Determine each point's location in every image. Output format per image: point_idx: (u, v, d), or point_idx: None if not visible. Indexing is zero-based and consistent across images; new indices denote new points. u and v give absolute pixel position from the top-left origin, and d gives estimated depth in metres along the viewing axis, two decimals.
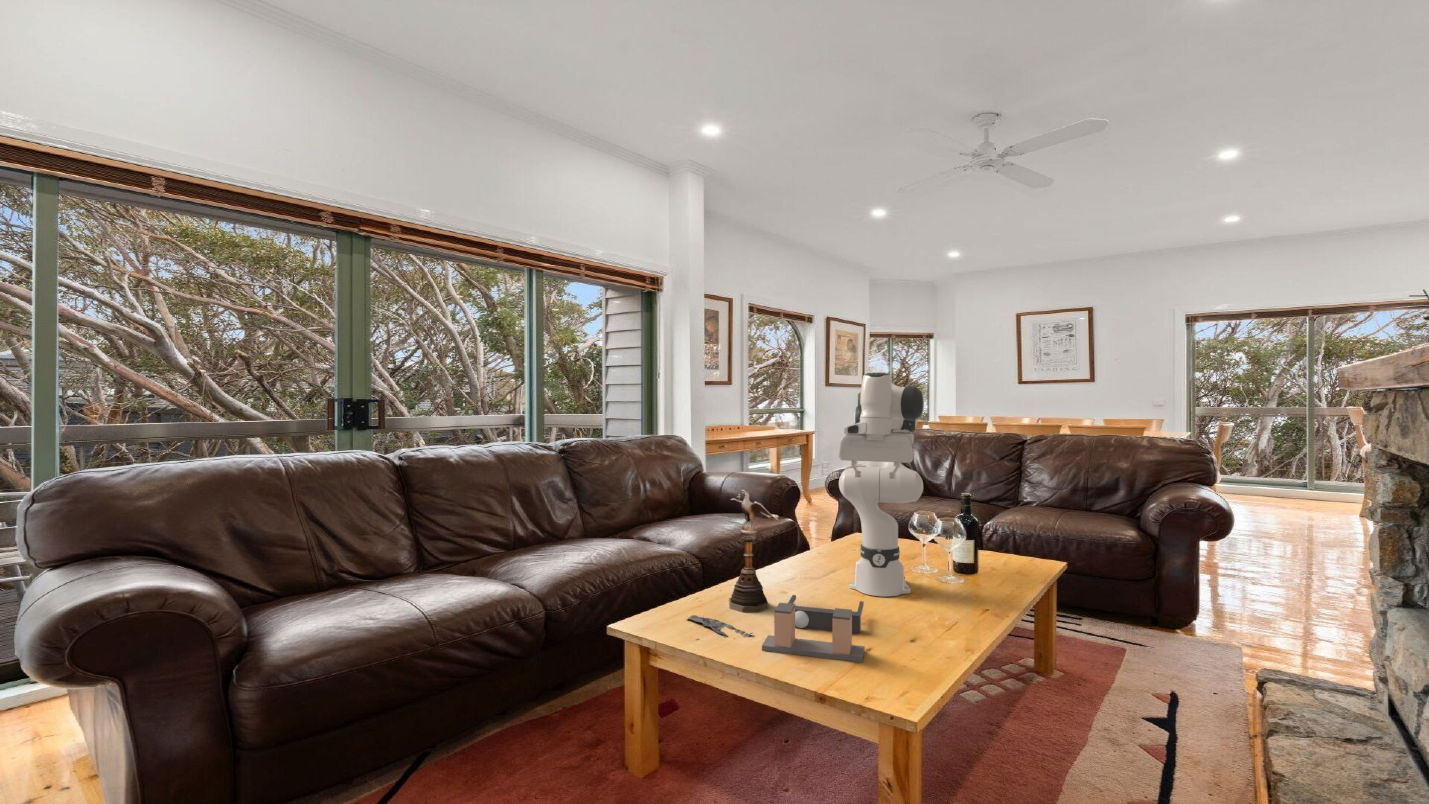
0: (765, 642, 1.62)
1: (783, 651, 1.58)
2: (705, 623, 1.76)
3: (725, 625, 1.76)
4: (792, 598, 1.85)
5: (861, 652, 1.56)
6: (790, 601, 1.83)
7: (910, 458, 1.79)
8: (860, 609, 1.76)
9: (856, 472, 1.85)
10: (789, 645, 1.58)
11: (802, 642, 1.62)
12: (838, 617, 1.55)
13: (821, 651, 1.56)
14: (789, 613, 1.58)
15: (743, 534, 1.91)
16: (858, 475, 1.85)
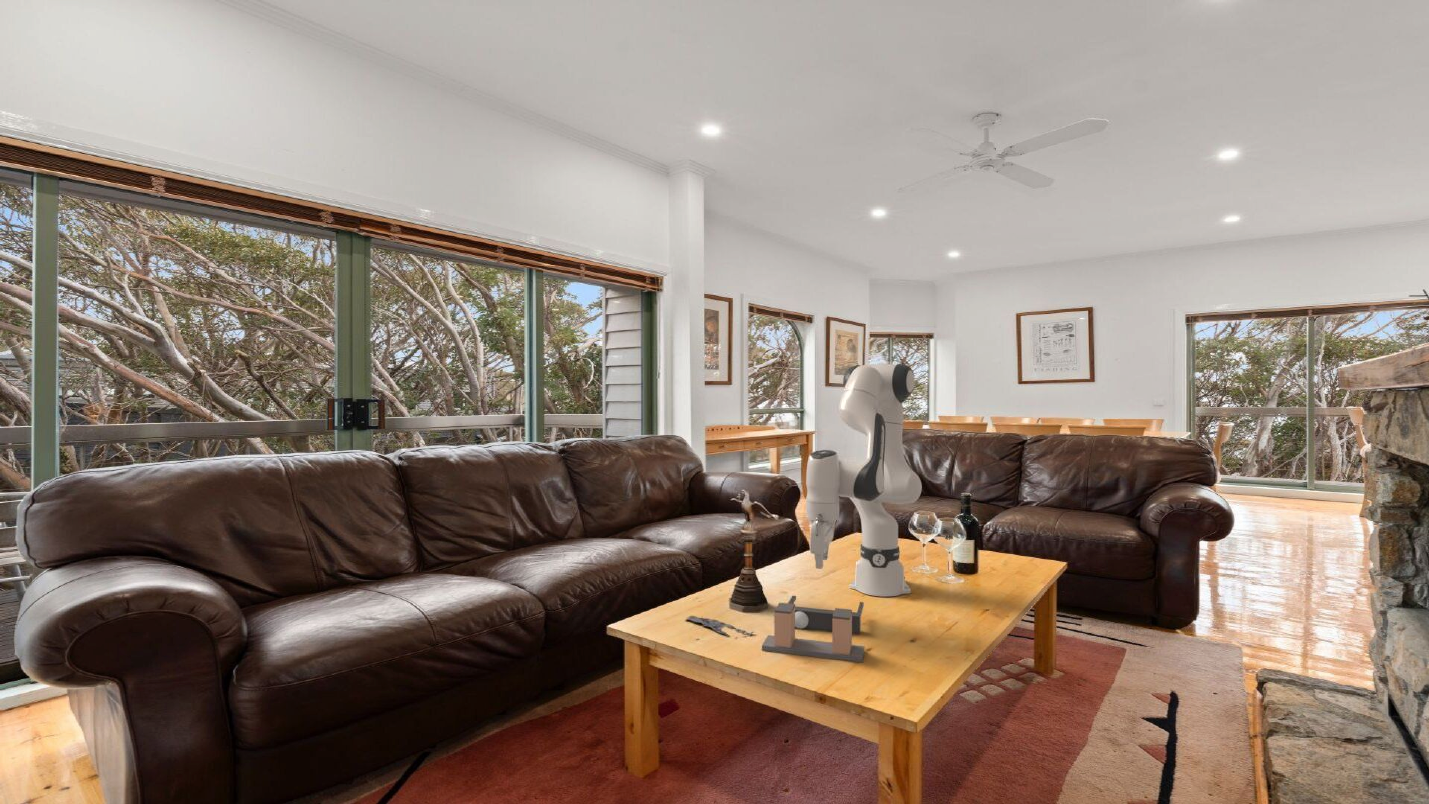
0: (765, 642, 1.62)
1: (783, 651, 1.58)
2: (705, 623, 1.76)
3: (725, 625, 1.77)
4: (792, 599, 1.85)
5: (861, 652, 1.56)
6: (790, 602, 1.82)
7: (810, 549, 1.66)
8: (860, 610, 1.76)
9: None
10: (789, 645, 1.58)
11: (802, 642, 1.62)
12: (838, 617, 1.55)
13: (821, 651, 1.56)
14: (789, 613, 1.58)
15: (743, 534, 1.91)
16: None
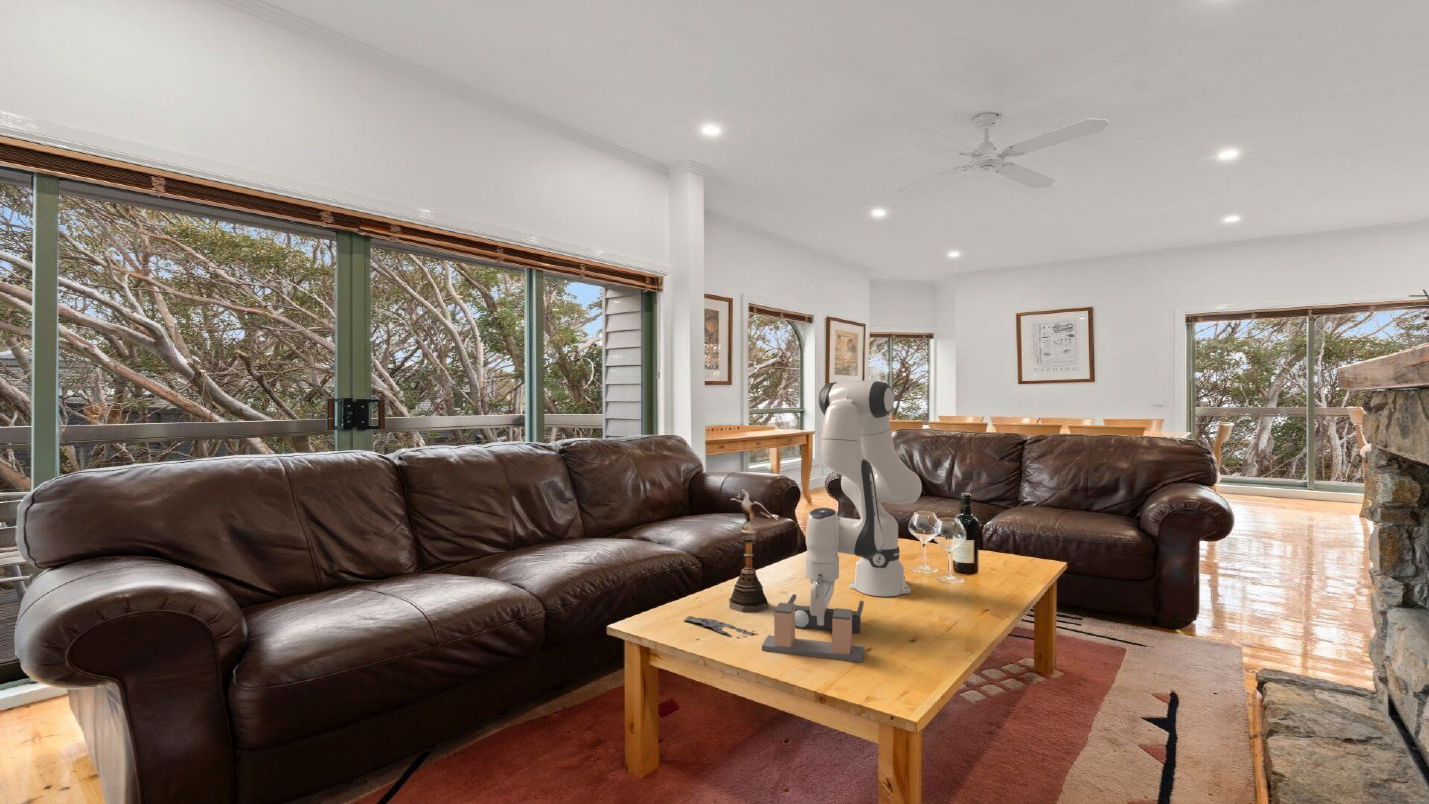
0: (765, 642, 1.62)
1: (783, 651, 1.58)
2: (705, 623, 1.75)
3: (724, 624, 1.77)
4: (792, 597, 1.86)
5: (861, 652, 1.56)
6: (790, 600, 1.83)
7: (810, 611, 1.66)
8: (860, 608, 1.76)
9: None
10: (789, 645, 1.58)
11: (802, 642, 1.62)
12: (838, 617, 1.55)
13: (821, 651, 1.56)
14: (789, 613, 1.58)
15: (743, 534, 1.91)
16: None
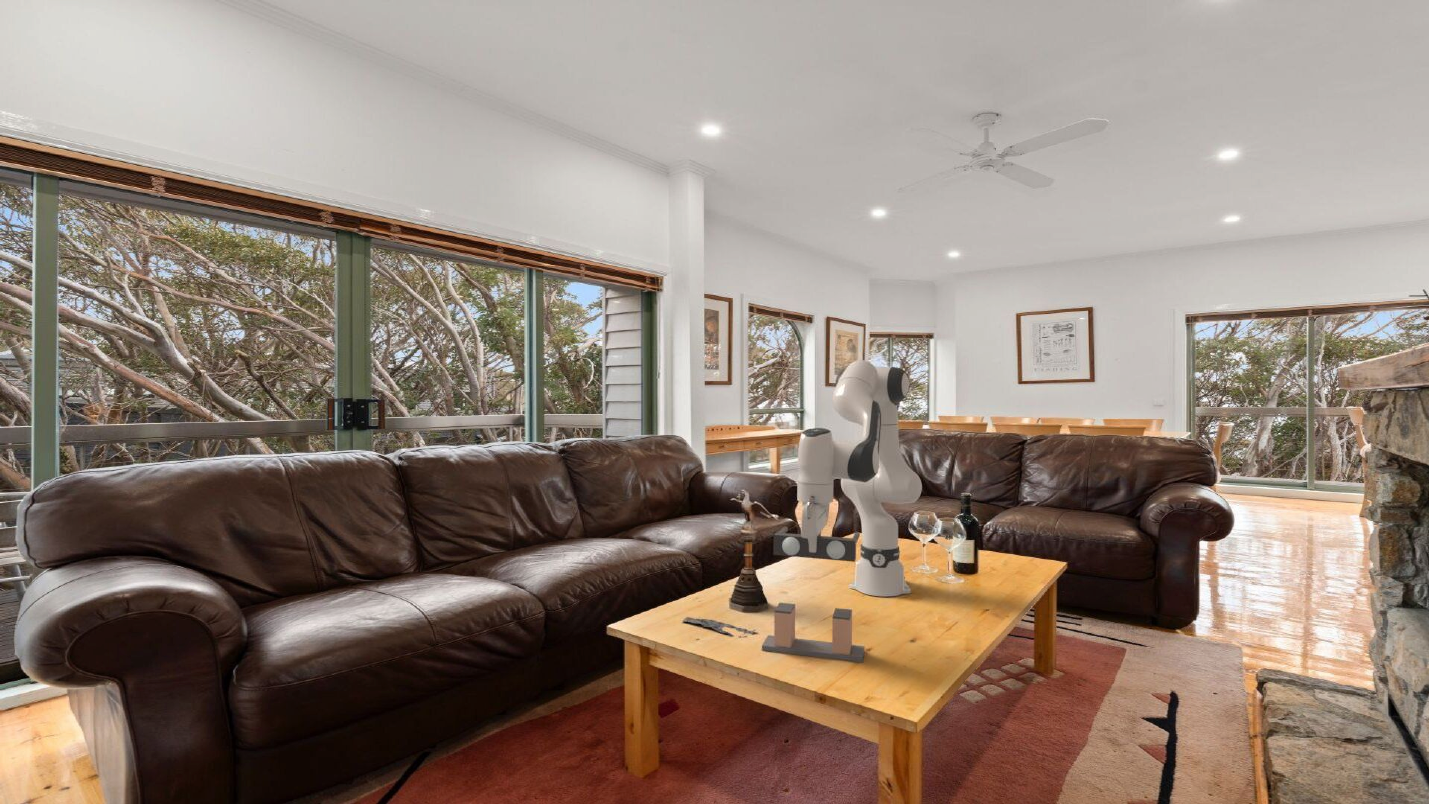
0: (765, 642, 1.62)
1: (783, 651, 1.58)
2: (704, 624, 1.75)
3: (723, 624, 1.77)
4: (783, 529, 1.73)
5: (861, 652, 1.56)
6: (781, 530, 1.70)
7: (801, 533, 1.53)
8: (856, 537, 1.64)
9: None
10: (789, 645, 1.58)
11: (802, 642, 1.62)
12: (838, 617, 1.55)
13: (821, 651, 1.56)
14: (789, 613, 1.58)
15: (743, 534, 1.91)
16: None
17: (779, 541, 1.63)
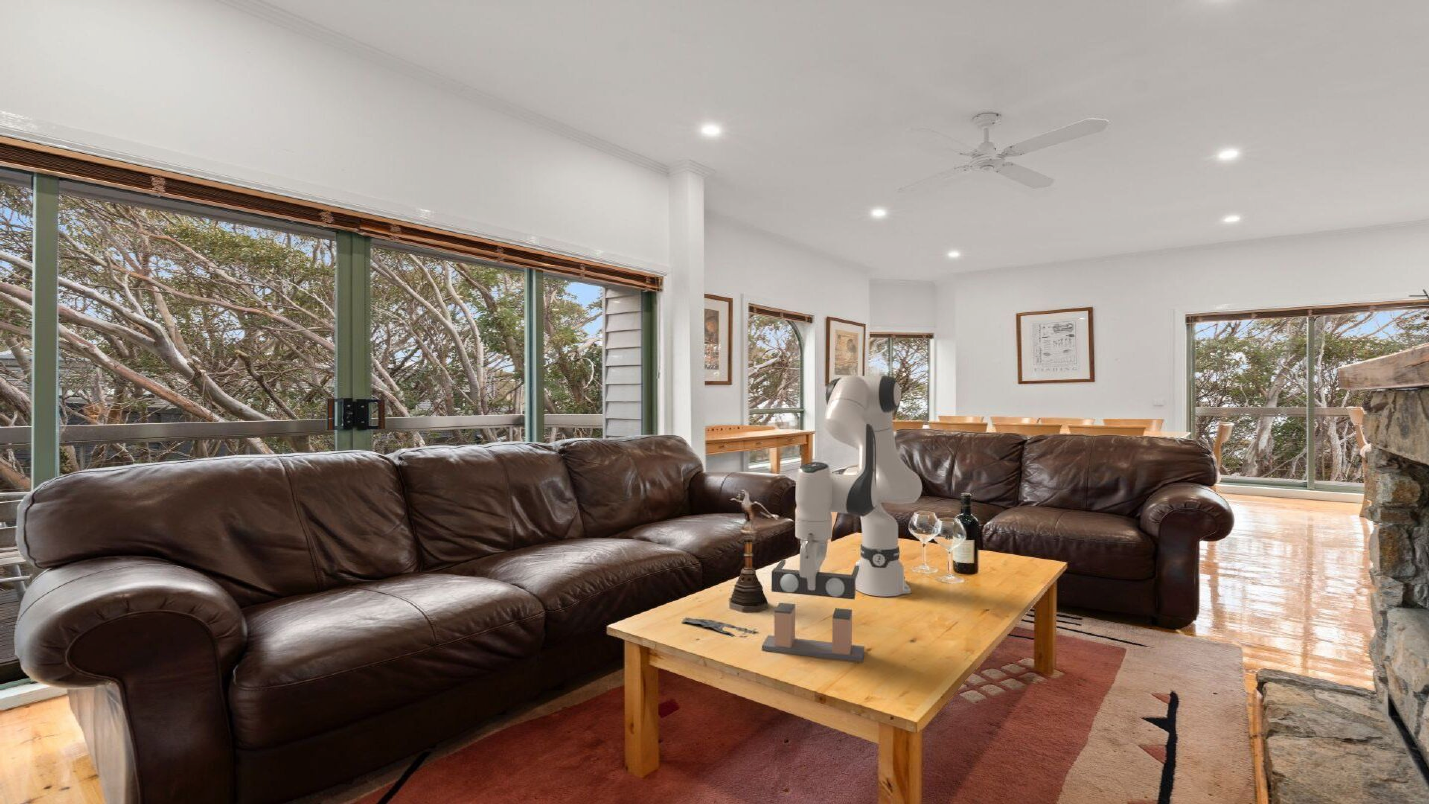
0: (765, 642, 1.62)
1: (783, 651, 1.58)
2: (704, 624, 1.75)
3: (723, 624, 1.77)
4: (781, 562, 1.70)
5: (861, 652, 1.56)
6: (779, 565, 1.67)
7: (799, 572, 1.50)
8: (855, 572, 1.61)
9: None
10: (789, 645, 1.58)
11: (802, 642, 1.62)
12: (838, 617, 1.55)
13: (821, 651, 1.56)
14: (789, 613, 1.58)
15: (743, 534, 1.91)
16: None
17: (778, 578, 1.60)
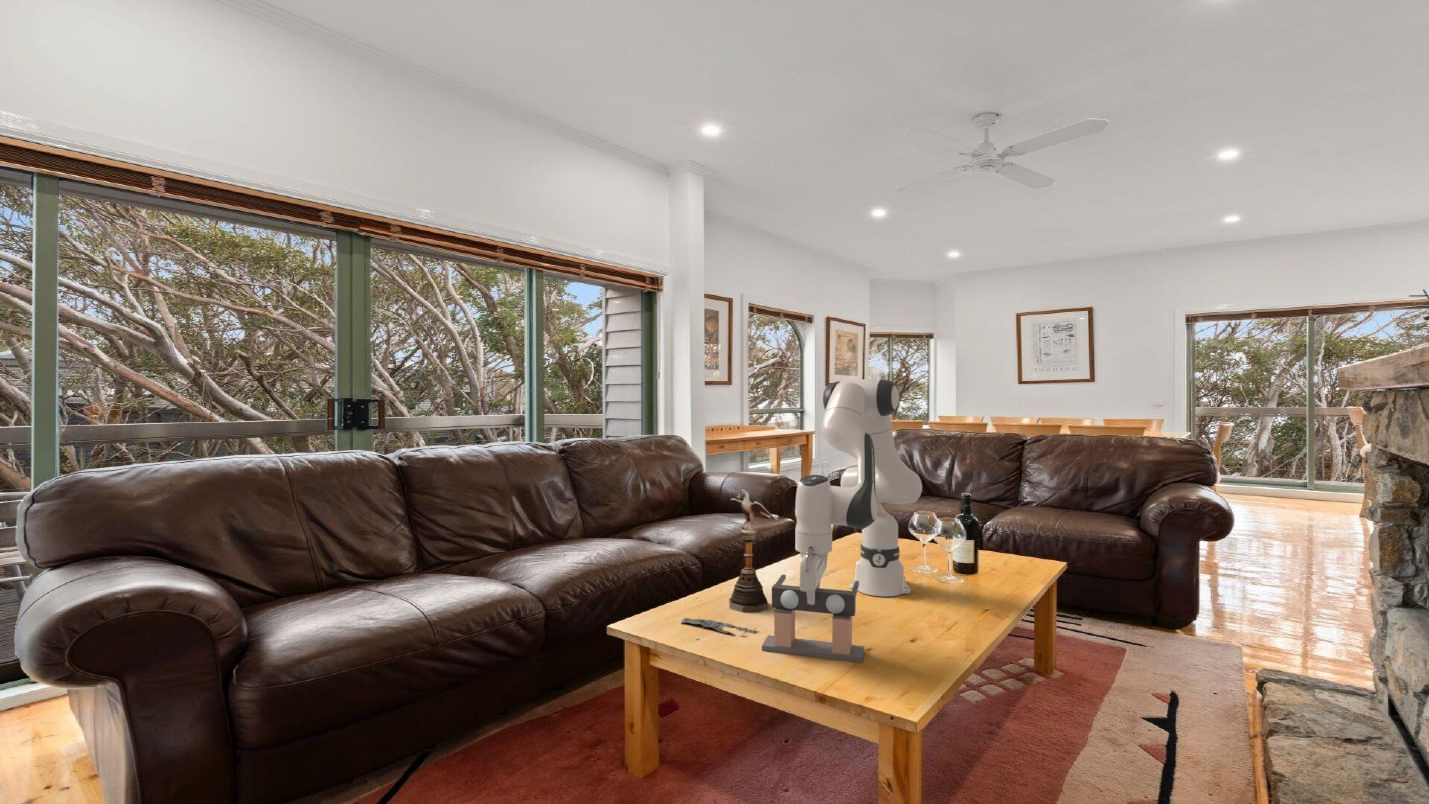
0: (765, 642, 1.62)
1: (783, 651, 1.58)
2: (704, 624, 1.75)
3: (723, 624, 1.77)
4: (781, 578, 1.70)
5: (861, 652, 1.56)
6: (779, 580, 1.67)
7: None
8: (855, 588, 1.61)
9: None
10: (789, 645, 1.58)
11: (802, 642, 1.62)
12: (838, 617, 1.55)
13: (821, 651, 1.56)
14: (789, 613, 1.58)
15: (743, 534, 1.91)
16: None
17: (778, 594, 1.60)
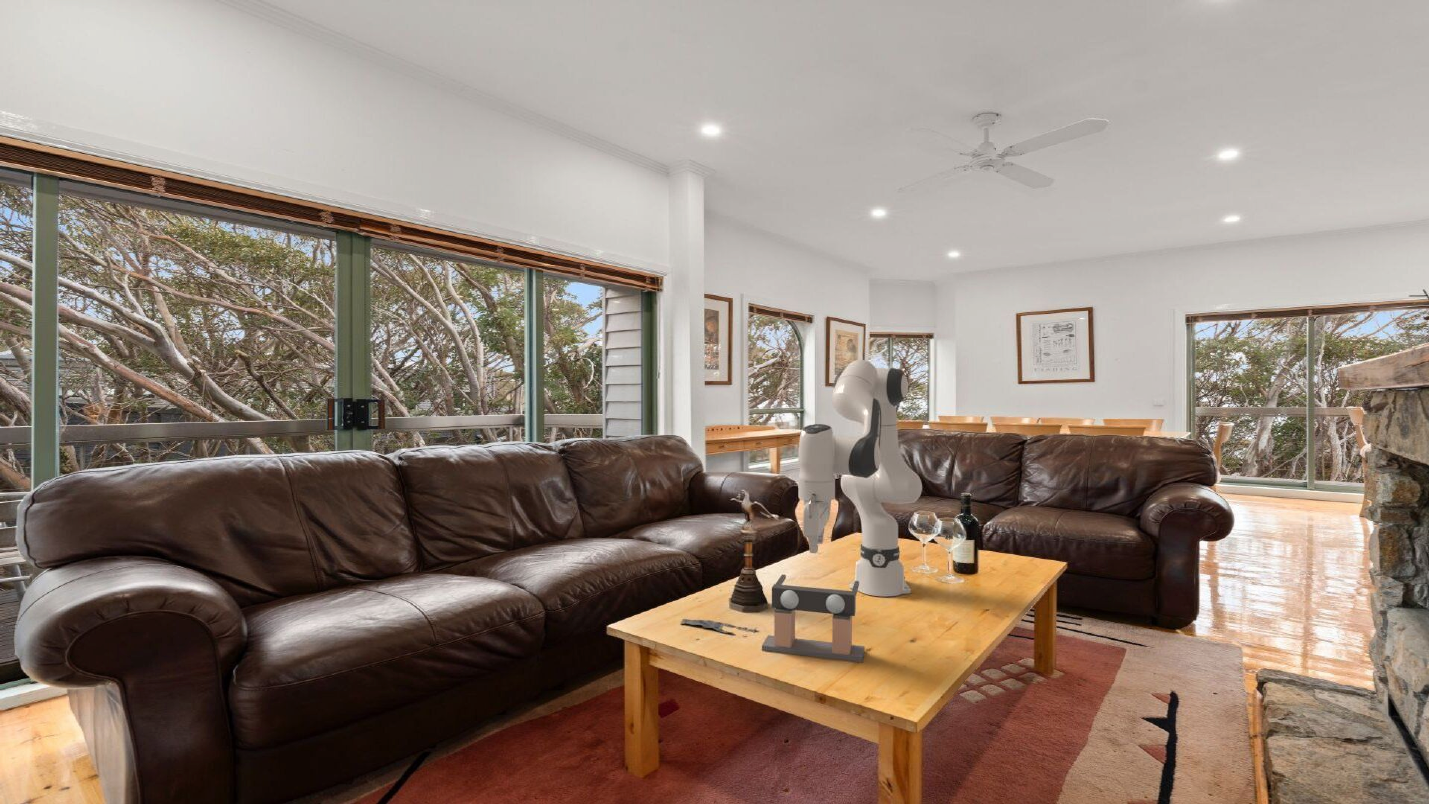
0: (765, 642, 1.62)
1: (783, 651, 1.58)
2: (704, 625, 1.75)
3: (722, 624, 1.77)
4: (781, 578, 1.70)
5: (861, 652, 1.56)
6: (779, 580, 1.67)
7: (803, 532, 1.51)
8: (855, 588, 1.61)
9: None
10: (789, 645, 1.58)
11: (802, 642, 1.62)
12: (838, 617, 1.55)
13: (821, 651, 1.56)
14: (789, 613, 1.58)
15: (743, 534, 1.91)
16: None
17: (778, 594, 1.60)
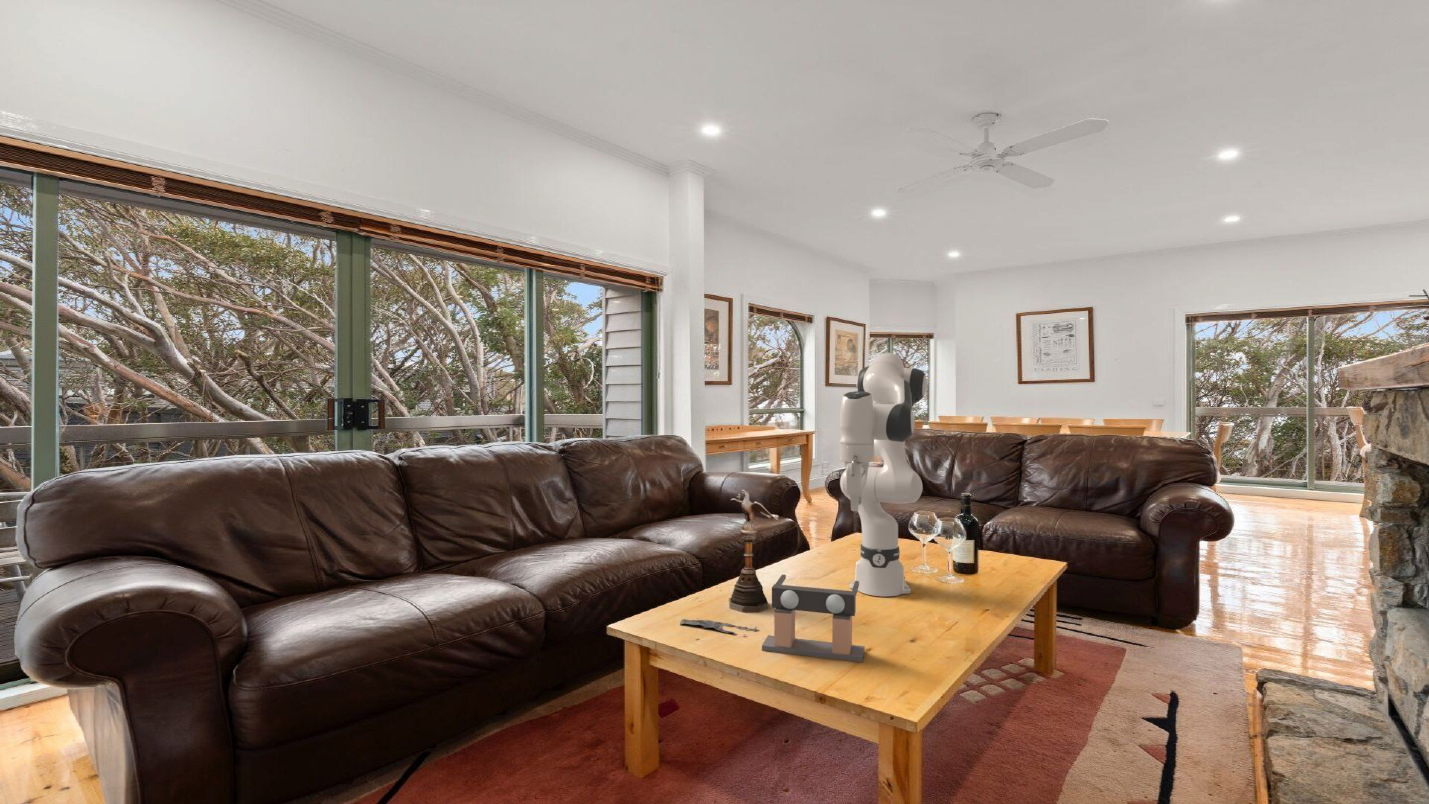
0: (765, 642, 1.62)
1: (783, 651, 1.58)
2: (705, 625, 1.75)
3: (722, 624, 1.77)
4: (781, 578, 1.70)
5: (861, 652, 1.56)
6: (779, 580, 1.67)
7: (846, 490, 1.61)
8: (855, 588, 1.61)
9: None
10: (789, 645, 1.58)
11: (802, 642, 1.62)
12: (838, 617, 1.55)
13: (821, 651, 1.56)
14: (789, 613, 1.58)
15: (743, 534, 1.91)
16: None
17: (778, 594, 1.60)
